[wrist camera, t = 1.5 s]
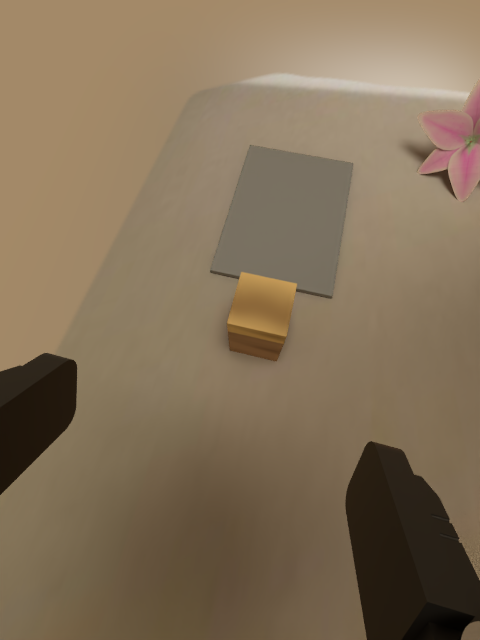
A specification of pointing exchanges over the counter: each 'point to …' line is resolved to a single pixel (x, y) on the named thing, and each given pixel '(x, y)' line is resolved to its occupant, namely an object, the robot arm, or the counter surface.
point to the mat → (286, 220)
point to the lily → (455, 144)
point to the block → (260, 315)
